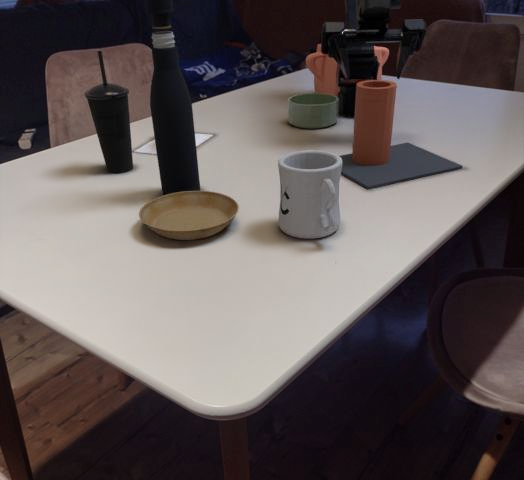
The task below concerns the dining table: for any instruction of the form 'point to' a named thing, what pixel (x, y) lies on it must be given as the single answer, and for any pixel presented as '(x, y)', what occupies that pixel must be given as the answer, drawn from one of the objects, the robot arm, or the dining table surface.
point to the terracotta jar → (373, 122)
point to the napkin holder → (151, 145)
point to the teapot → (334, 69)
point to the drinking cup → (112, 122)
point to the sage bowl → (313, 110)
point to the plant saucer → (189, 214)
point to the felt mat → (397, 167)
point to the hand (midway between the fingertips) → (373, 78)
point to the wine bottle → (171, 108)
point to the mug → (309, 193)
